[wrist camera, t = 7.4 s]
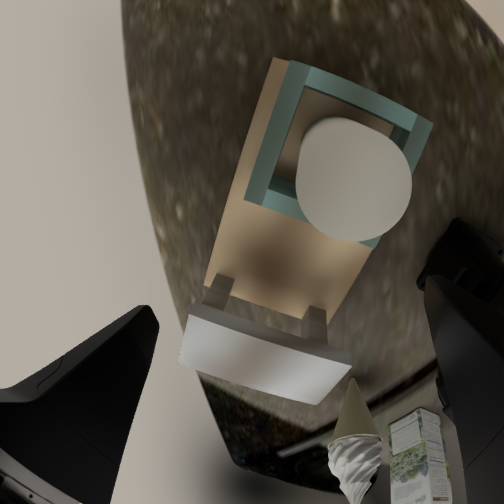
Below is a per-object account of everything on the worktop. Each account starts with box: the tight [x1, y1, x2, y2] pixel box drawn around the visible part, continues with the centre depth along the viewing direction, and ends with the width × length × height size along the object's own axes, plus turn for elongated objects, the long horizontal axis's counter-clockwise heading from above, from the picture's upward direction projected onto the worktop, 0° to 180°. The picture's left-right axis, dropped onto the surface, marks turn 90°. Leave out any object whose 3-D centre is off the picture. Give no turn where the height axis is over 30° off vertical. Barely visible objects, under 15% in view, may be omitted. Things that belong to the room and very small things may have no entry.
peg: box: [296, 115, 412, 242], centre depth 13 cm, size 4×4×8 cm
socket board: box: [178, 57, 433, 405], centre depth 16 cm, size 10×16×10 cm, turn 163°
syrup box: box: [388, 408, 452, 504], centre depth 25 cm, size 6×6×14 cm
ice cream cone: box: [328, 378, 383, 504], centre depth 22 cm, size 5×5×15 cm
